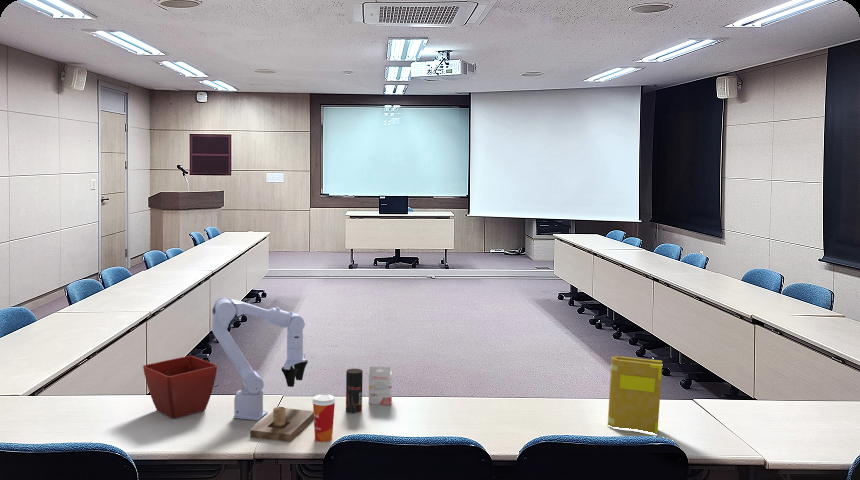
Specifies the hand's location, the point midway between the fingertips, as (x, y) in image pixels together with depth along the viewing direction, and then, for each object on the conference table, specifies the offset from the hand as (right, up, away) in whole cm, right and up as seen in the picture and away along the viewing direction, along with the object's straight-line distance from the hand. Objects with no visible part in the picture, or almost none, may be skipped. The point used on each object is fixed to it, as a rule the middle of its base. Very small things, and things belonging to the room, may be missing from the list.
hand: (294, 383), depth 245 cm
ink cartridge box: (+30, -10, +13) cm, 34 cm away
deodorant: (+21, -11, +3) cm, 24 cm away
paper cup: (+14, -14, -23) cm, 31 cm away
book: (+121, -15, -7) cm, 122 cm away
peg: (-2, -12, -19) cm, 23 cm away
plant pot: (-41, -10, -2) cm, 42 cm away
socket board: (-1, -12, -15) cm, 19 cm away
